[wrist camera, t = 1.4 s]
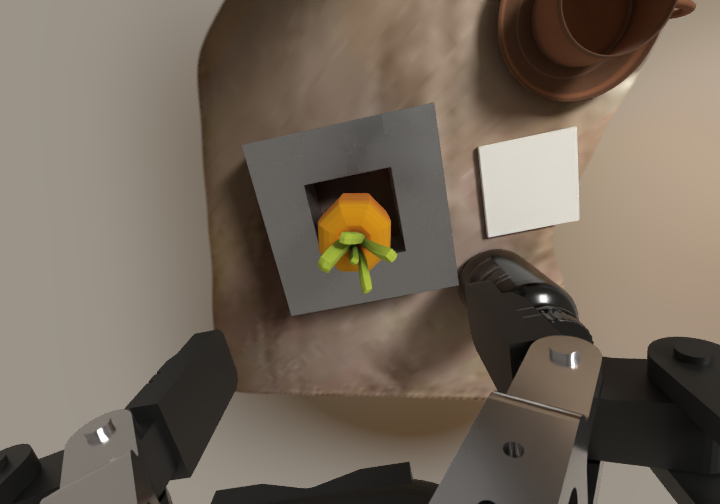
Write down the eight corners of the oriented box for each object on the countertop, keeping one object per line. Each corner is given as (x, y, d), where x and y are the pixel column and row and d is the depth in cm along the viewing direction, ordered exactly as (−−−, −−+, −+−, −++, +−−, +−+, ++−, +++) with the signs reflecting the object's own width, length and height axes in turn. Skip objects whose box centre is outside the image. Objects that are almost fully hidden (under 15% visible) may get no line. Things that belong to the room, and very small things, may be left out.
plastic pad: (477, 146, 31) (478, 146, 31) (573, 126, 30) (576, 126, 30) (486, 236, 33) (488, 237, 33) (576, 218, 33) (579, 220, 32)
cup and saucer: (645, -98, 26) (727, -166, 20) (650, 80, 30) (721, 66, 24) (478, -45, 27) (509, -94, 21) (501, 121, 31) (534, 118, 25)
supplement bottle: (463, 320, 36) (509, 406, 25) (450, 257, 34) (493, 318, 23) (533, 304, 35) (614, 385, 24) (524, 238, 34) (607, 292, 22)
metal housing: (260, 143, 31) (241, 145, 26) (423, 107, 30) (434, 102, 25) (301, 291, 35) (291, 316, 31) (446, 264, 34) (459, 285, 30)
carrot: (394, 191, 32) (417, 236, 18) (372, 241, 34) (377, 319, 19) (341, 169, 32) (323, 197, 18) (321, 221, 33) (289, 286, 19)
